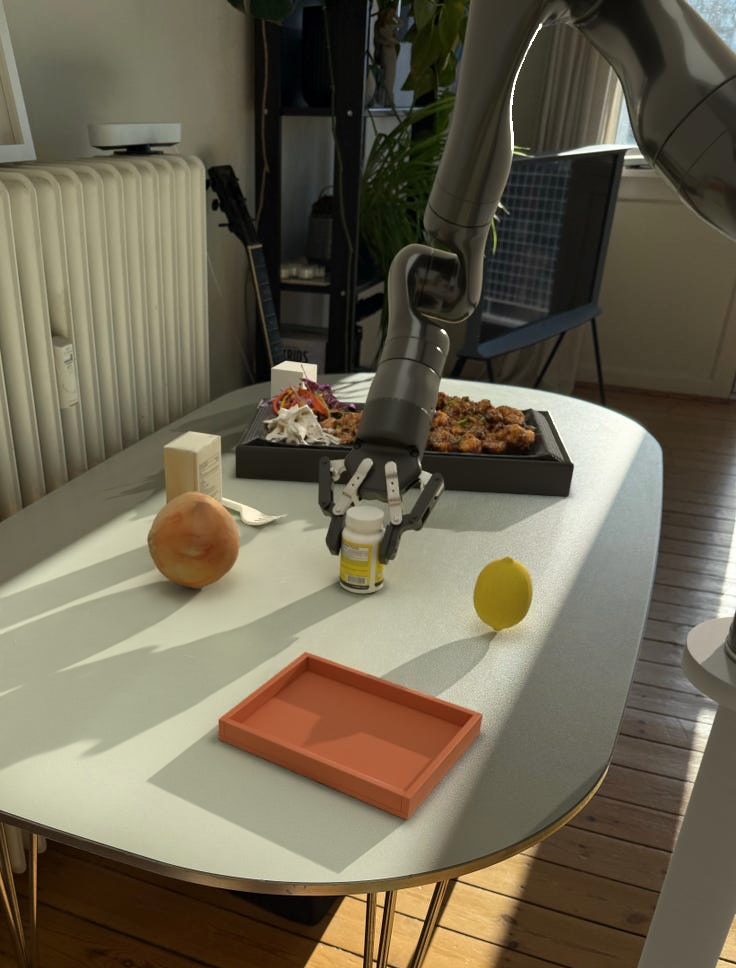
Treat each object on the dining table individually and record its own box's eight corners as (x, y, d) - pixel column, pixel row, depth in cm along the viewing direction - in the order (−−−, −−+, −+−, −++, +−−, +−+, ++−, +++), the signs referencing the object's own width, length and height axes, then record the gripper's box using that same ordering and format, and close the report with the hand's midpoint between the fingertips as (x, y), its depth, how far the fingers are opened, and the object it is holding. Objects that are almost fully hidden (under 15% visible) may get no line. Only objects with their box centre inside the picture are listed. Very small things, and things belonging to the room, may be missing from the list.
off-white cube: (315, 399, 164) (317, 364, 161) (302, 407, 159) (303, 372, 156) (284, 394, 166) (285, 360, 163) (270, 403, 162) (271, 368, 159)
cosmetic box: (192, 526, 114) (189, 429, 108) (224, 533, 113) (223, 434, 106) (166, 546, 109) (161, 445, 103) (198, 553, 108) (195, 450, 101)
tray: (479, 733, 77) (483, 713, 76) (407, 820, 68) (409, 799, 67) (304, 670, 86) (305, 651, 85) (218, 739, 76) (218, 719, 75)
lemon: (477, 612, 95) (487, 541, 91) (531, 625, 93) (544, 552, 89) (461, 636, 91) (471, 562, 87) (518, 649, 89) (531, 574, 85)
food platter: (235, 477, 129) (235, 403, 124) (259, 425, 150) (260, 360, 145) (568, 496, 124) (582, 420, 119) (545, 439, 145) (556, 372, 140)
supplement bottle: (371, 572, 103) (376, 501, 99) (390, 590, 100) (397, 517, 95) (331, 578, 102) (335, 507, 98) (350, 597, 98) (355, 523, 94)
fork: (184, 484, 127) (183, 471, 126) (290, 527, 114) (290, 512, 113) (165, 490, 125) (165, 477, 124) (271, 534, 112) (271, 520, 111)
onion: (134, 575, 102) (129, 489, 97) (214, 556, 107) (212, 473, 102) (173, 611, 95) (169, 520, 90) (257, 589, 100) (257, 501, 95)
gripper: (328, 387, 100) (285, 532, 96) (461, 402, 95) (421, 555, 91) (341, 422, 107) (301, 559, 103) (466, 438, 102) (428, 582, 98)
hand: (358, 556), depth 97 cm, fingers closed on supplement bottle, 4 cm apart
